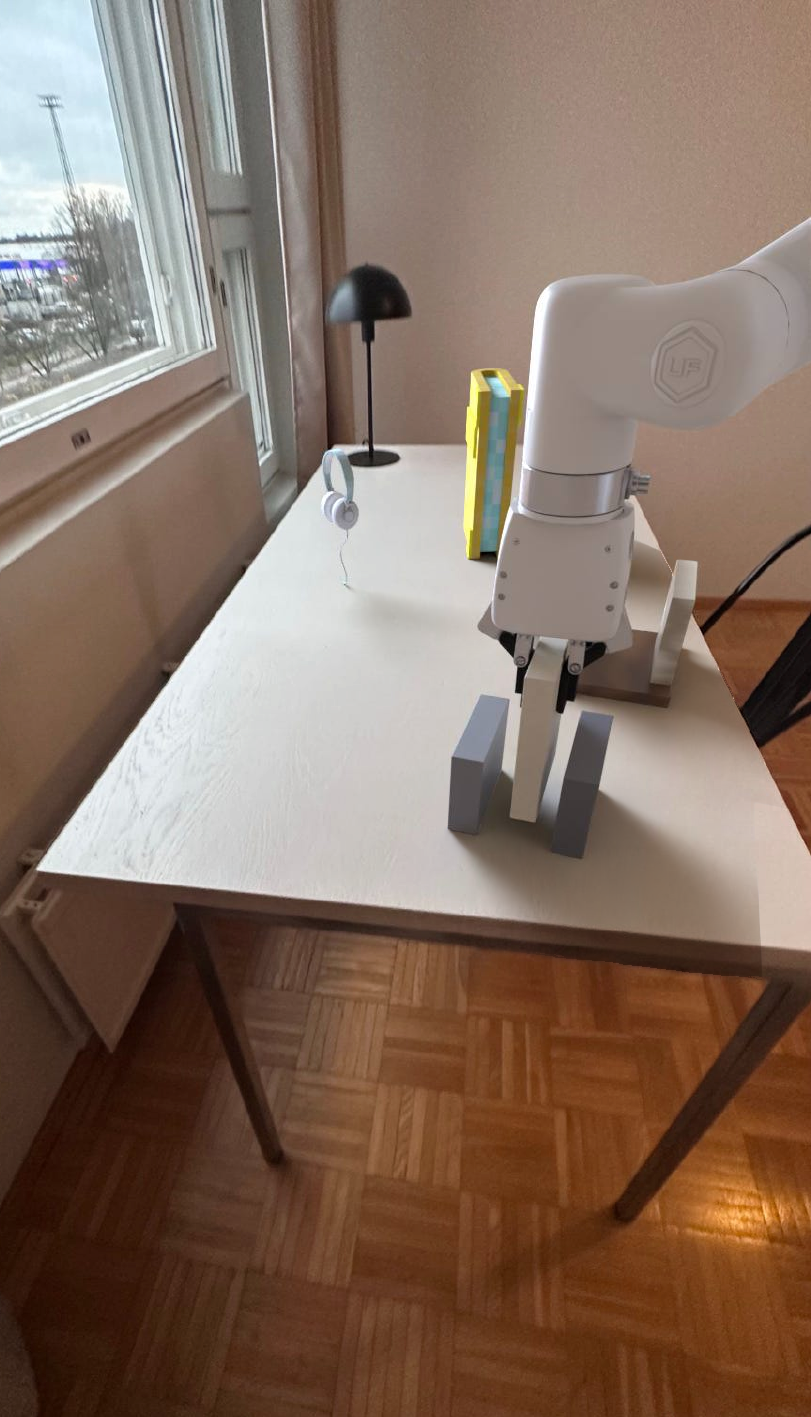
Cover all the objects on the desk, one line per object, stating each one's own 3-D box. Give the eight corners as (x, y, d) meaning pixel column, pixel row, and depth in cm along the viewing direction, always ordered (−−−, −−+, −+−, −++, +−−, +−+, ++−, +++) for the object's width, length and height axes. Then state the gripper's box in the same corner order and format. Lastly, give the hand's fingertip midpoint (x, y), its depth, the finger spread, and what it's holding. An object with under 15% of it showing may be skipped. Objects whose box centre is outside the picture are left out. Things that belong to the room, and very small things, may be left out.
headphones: (366, 590, 112) (361, 454, 99) (344, 596, 111) (336, 459, 98) (343, 572, 118) (336, 441, 105) (322, 577, 116) (311, 446, 103)
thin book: (555, 754, 73) (575, 619, 63) (535, 823, 65) (555, 681, 55) (531, 750, 74) (548, 616, 64) (509, 817, 66) (524, 677, 56)
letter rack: (674, 644, 95) (699, 553, 87) (667, 707, 84) (695, 610, 76) (546, 628, 100) (559, 540, 92) (524, 685, 89) (536, 591, 81)
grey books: (596, 787, 74) (613, 715, 68) (582, 859, 66) (599, 785, 60) (474, 763, 77) (480, 693, 72) (447, 828, 70) (451, 756, 64)
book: (508, 557, 119) (524, 389, 103) (468, 559, 120) (477, 391, 103) (495, 521, 132) (508, 367, 116) (459, 523, 132) (467, 369, 116)
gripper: (693, 477, 51) (642, 694, 63) (476, 467, 56) (466, 670, 68) (690, 511, 46) (635, 741, 58) (451, 497, 51) (445, 711, 63)
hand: (544, 701), depth 63 cm, fingers closed on thin book, 2 cm apart
